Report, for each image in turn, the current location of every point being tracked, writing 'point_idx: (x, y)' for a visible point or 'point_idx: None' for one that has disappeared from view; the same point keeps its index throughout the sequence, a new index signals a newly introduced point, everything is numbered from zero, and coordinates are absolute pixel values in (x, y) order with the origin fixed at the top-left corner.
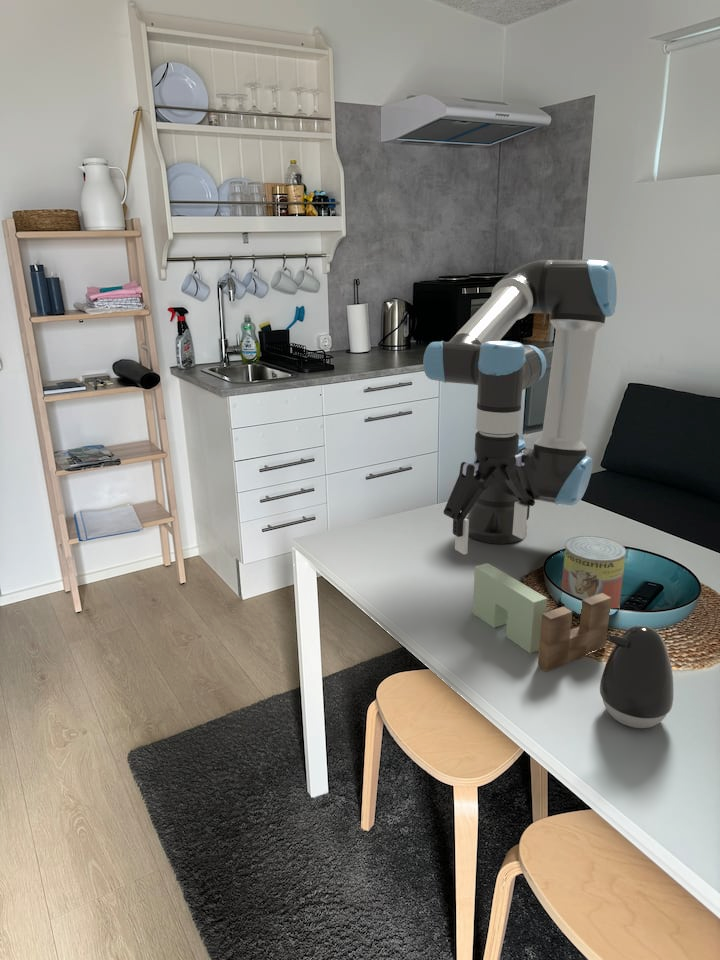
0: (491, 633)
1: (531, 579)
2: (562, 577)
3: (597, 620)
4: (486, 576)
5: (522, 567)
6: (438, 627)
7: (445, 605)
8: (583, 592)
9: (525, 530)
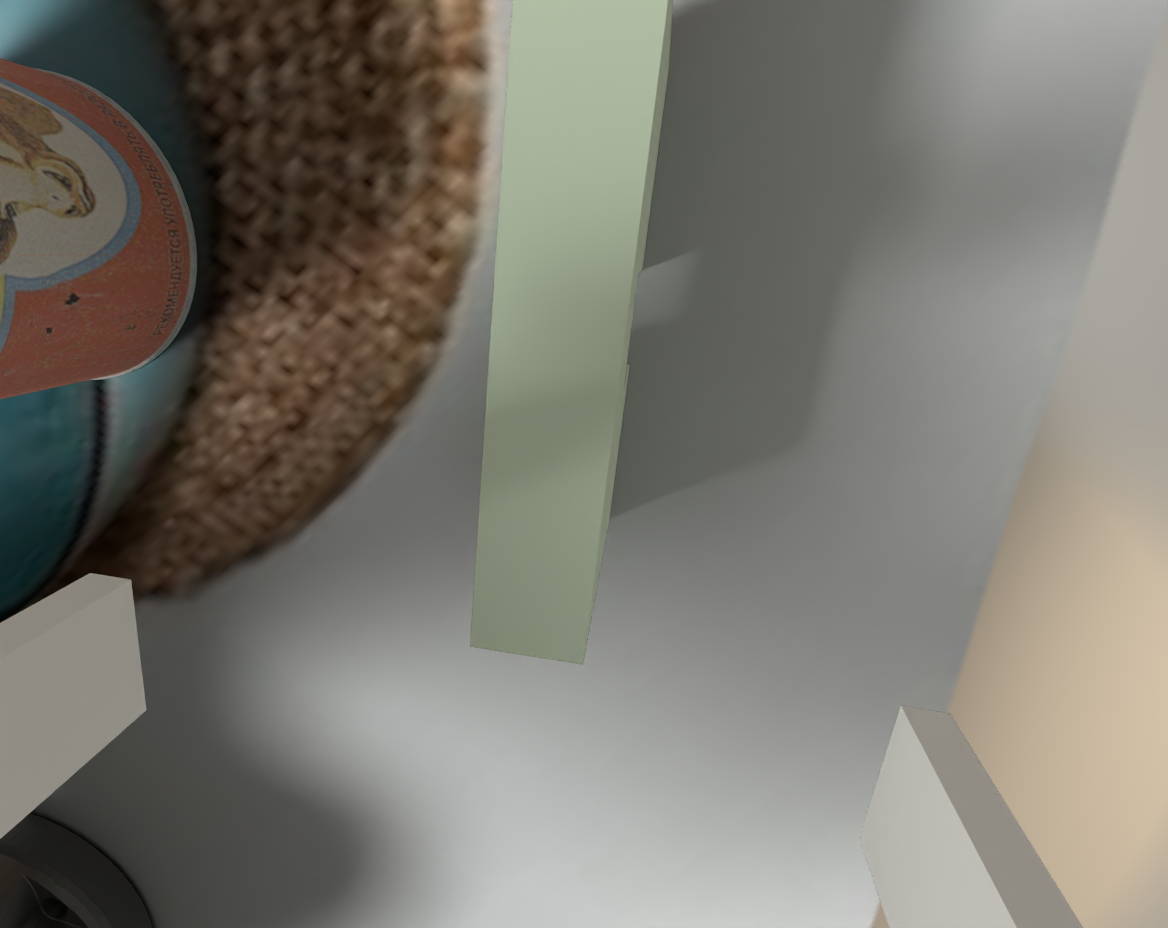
0: (677, 336)
1: (160, 556)
2: (58, 369)
3: None
4: (600, 534)
5: None
6: (833, 530)
7: (658, 639)
8: (63, 158)
9: (4, 625)
